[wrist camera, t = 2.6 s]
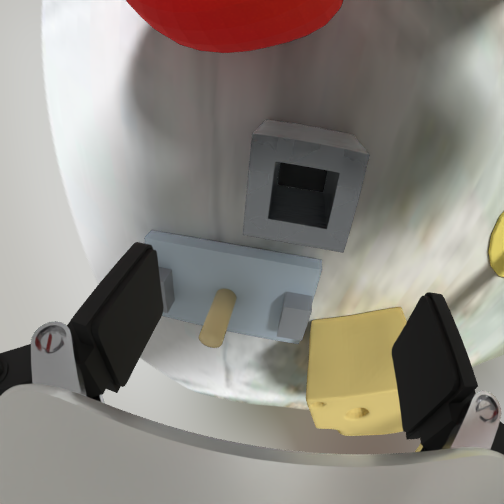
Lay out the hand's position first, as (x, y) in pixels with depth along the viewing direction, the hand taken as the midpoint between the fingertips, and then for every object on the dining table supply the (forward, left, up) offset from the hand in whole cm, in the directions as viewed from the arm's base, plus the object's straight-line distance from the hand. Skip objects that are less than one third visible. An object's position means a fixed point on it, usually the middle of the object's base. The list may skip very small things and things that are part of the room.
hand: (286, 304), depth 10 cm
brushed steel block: (0, 0, -14) cm, 14 cm away
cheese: (-10, +18, -15) cm, 25 cm away
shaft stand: (+5, +13, -14) cm, 20 cm away
